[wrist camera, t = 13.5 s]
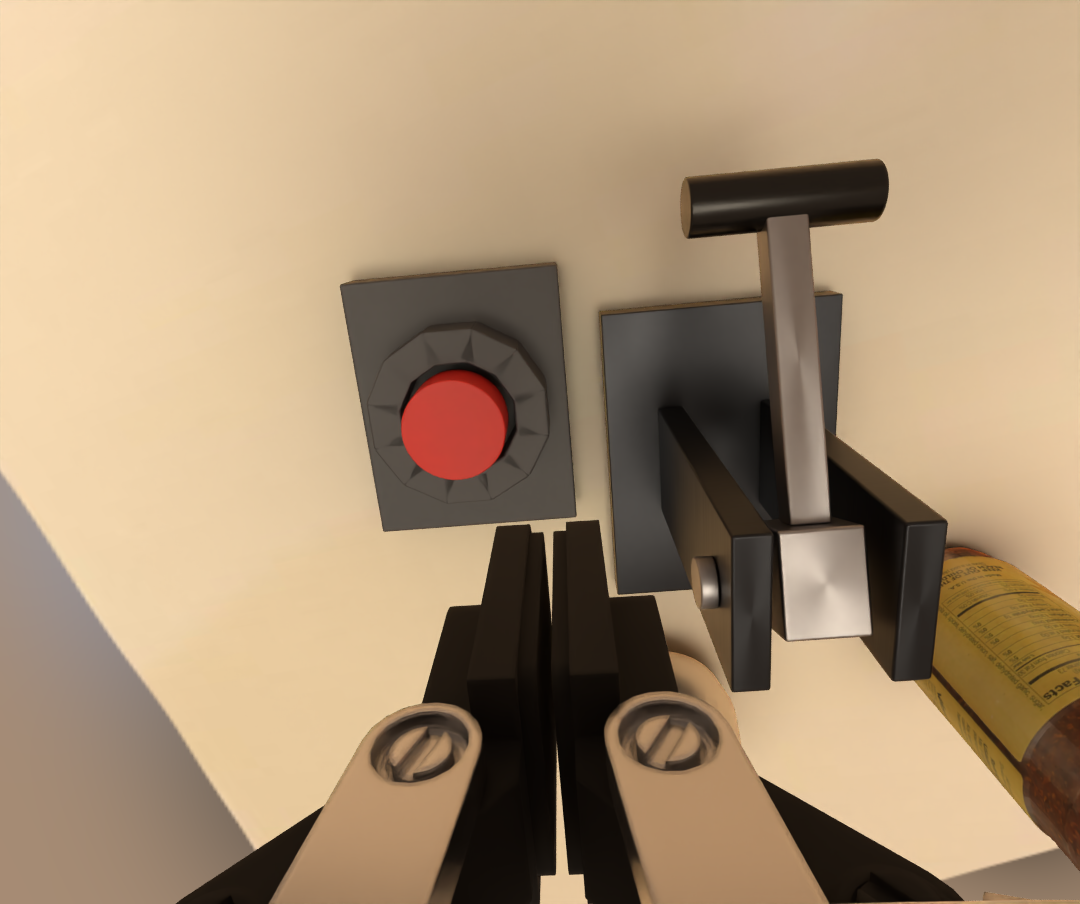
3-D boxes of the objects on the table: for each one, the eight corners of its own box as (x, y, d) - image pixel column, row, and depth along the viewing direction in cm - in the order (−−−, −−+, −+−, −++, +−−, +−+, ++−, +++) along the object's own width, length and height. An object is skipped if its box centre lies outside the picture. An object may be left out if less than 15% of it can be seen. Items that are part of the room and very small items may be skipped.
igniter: (351, 280, 27) (323, 289, 24) (556, 261, 27) (557, 268, 23) (391, 515, 30) (372, 552, 27) (575, 501, 30) (578, 537, 26)
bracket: (598, 310, 27) (638, 384, 15) (830, 290, 27) (1064, 348, 15) (615, 581, 31) (657, 815, 19) (818, 566, 31) (996, 795, 18)
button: (403, 373, 25) (393, 384, 23) (503, 364, 25) (499, 375, 23) (418, 467, 26) (408, 484, 24) (513, 460, 26) (510, 476, 24)
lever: (675, 195, 20) (691, 161, 17) (854, 178, 19) (895, 141, 17) (709, 621, 20) (729, 646, 17) (887, 609, 19) (932, 632, 17)
